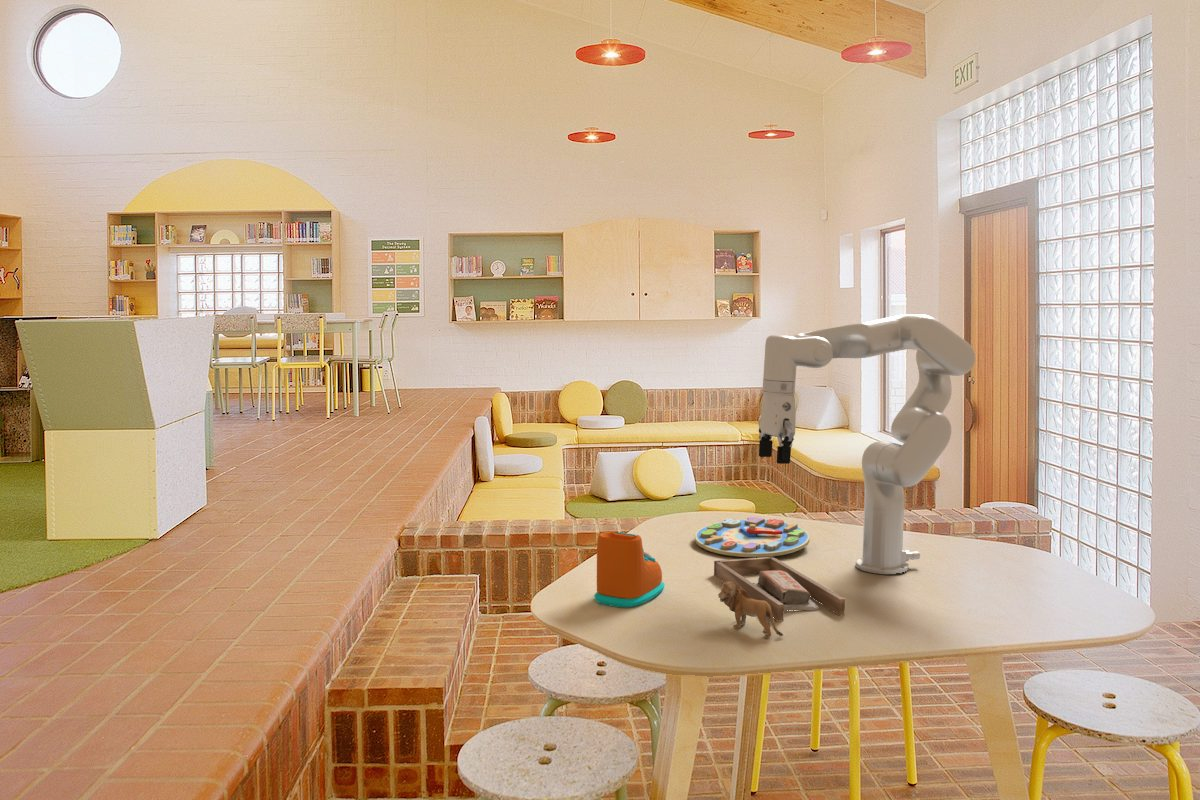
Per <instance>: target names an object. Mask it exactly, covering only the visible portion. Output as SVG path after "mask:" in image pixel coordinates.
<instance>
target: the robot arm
mask: <svg viewBox="0 0 1200 800" xmlns="http://www.w3.org/2000/svg"><path fill="white" fill-rule="evenodd" d="M764 346H765V347H764V361H763V362H764V363H763V374H762V376H763V377H762V392H761V394H763V396H762V402H761V409H760V419H758V423H757V424H758V433H759V436H758V439H759V445H758V457H761V458H771V457H772V455H773V444H774V443H773V441H774V440H773V439H772V438H773V437H774V438H776V439H777V442H778V445H777V450H776V451H777V452H776V464H780V465H781V464H782V465H783V464H784V465H787V464H790V463H791V452H792V447H793V442H794V440H795V439H794V437H795V435H796V418H797V417H796V397H795V395H796V378H797V367H803V368H808V369H821V368H823V367H826V366H827V365H829V363H831V361H832V359H865V358H871V357H876V356H879V355H884V354H889V353H895V352H899V351H904V350H913V351H914V350H915V351H916V354H915V360H916V365H917V370H918V382H917V384H916V385H917V386H916V388H915V389H914V391H913V392H912V394H911V395H910V396H909V398H908V399H907V401H906V402H905V403H904V405H902V407H901V409H900V410H899V412H898V413H897V414H896V415H895V417H894V419H893V421H892V423H891V426H890V427H891V428H890V431H891V435H892V437H894V439H895V440H897V441H898V442H900V443H902V444H899V443H895V442H891V441H885V440H879V441H875V442H873V443H870V444H869V445H868V446H867V447H866V448H865V449H864V451H863V453H862V458H861V468H862V469H861V470H862V476H863V484H864V486H863V487H864V501H863V502H864V504H863V505H864V506H863V507H864V508H863V529H862V531H863V532H862V533H863V536H862V557H861V558H858V559H857V560H856V561H855V566H856V568H857V569H859V570H861V571H863V570H864V572H866V571H867V573H872V574H877V573H878V574H879V575H897V574H896V573H900V574H903V573H902V572H904V573H906V572H908V571H909V563H908V562H909V561H910V560H912V561H913V560H914V561H915V560H919V559H920V558H921V554H920V552H919V551H909V550H904V526H905V525H904V519H905V504H906V503H905V491H904V487H905V488H909V487H914V486H916V485H917V484H919V483H920V482H921V481H922V480H923V479H924V478H925V477H926V476H927V474H928V473H929V471H930V470H931V469H932V468H933V466H934V465H935V463H936V462H937V461H938V459H939V458H940V456H941V455H942V454H943V452H944V451H945V450H946V448H947V446H948V445H949V443H950V440H951V436H952V424H951V421H950V419H949V418H948V417H947V416H946V415H945V414H944V411H945V410H946V408H947V406H948V404H949V403H950V401H951V398H952V393H953V392H952V391H953V390H952V380H951V379H952V378H951V377H952V376H953V377H959V376H964V375H966V374H967V373H969V372H970V371H971V370H972V369H973V368H974V367H975V366H974V365H975V362H976V353H975V350H974V349H973V347H972V345H971V344H970V343H969V342H968V341H967V340H965V339H964V338H962V337H961V336H960V335H959V334H957V333H956V332H954V331H953V330H952V329H950V328H949V327H947V326H946V324H944V323H942V322H941V321H939V320H938V319H937V318H935V317H932V316H930V315H928V314H916V313H915V314H913V313H905V314H897V315H894V316H893V315H892V316H887V317H884V318H878V319H874V320H869V321H863V322H859V323H852V324H846V325H841V326H836V327H829V328H822V329H818V330H817V329H816V330H812V331H807V332H803V333H798V334H794V335H793V336H791V335H783V334H782V335H781V334H780V335H779V334H773V335H768V337H766V339H765V344H764ZM907 570H908V571H907ZM905 571H906V572H905Z"/></svg>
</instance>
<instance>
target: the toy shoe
mask: <svg viewBox="0 0 1200 800" xmlns="http://www.w3.org/2000/svg"><path fill="white" fill-rule="evenodd" d="M661 568H662V567H661V565H660V563H659V562H658V561H656V558H655V557H654V556H653V557H652V555H651V554H650V553H648V552H646V551H644V547H643V540H642V537H641V535H639V534H633V533H627V532H626V533H625V532H618V531H617V532H614V531H604V532H601V533H599V534H598V538H597V546H596V592H595V594H594V596H593V597H594V599H595V601H596V602H597V603H598V602H599V604H600V603H601V605H604V604H605V606H609V605H611V606H610V607H615V606H617V607H616V608H622V607H628V608H634V607H637V606H641V605H643V604H644V603H647V602H649V601H651V600H652V599H654V598H655V597H656V596H658V595H659V594H660V593H661V592H662V591H663V590H664V589H665V583H664V582H663V572H662V569H661ZM650 599H651V600H650ZM642 603H643V604H642ZM633 606H634V607H633Z"/></svg>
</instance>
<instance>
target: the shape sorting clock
mask: <svg viewBox="0 0 1200 800" xmlns="http://www.w3.org/2000/svg"><path fill="white" fill-rule="evenodd" d="M798 525H799V524H797V523H788V522H785V520H783V519H778V518H772V519H771V518H769V519H765V518H764V517H759V516H748V517H747V518H746V519H736V518H726V519H724V520H723V521H719V522H718V521H717V522H715V523H710V524H707V525H705V526H703V527H701V528H698V530H697V531H695V534H694V541H695V544H696V545H697V546H699V547H700V548H702V549H704V550H706V551H708V552H711V553H715V554H719V555H724V556H730V557H739V558H740V557H742V558H756V557H757V558H761V557H773V556H774V557H778V556H784V555H788V554H793V553H795V552H798V551H800V550H802V549H804V548H806V547H807V546H808V545H809V544H810V542H811V541H810V540H811V539H810V538H811V536H810V534H809V532H808V531H807V530H805V529H804V528H802V527H800V526H798Z"/></svg>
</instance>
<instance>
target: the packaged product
mask: <svg viewBox="0 0 1200 800" xmlns="http://www.w3.org/2000/svg"><path fill="white" fill-rule="evenodd" d="M757 580H758V581H757V582H756V583H755V582H752V583H753V584H754V585H756V586H757V587H759V588H760V589H762V590H763V591H765V592H766V593H768V594H769V595H771V596H772V597H774V598H775V599H777V600H778V601H780V602H781V603H783V604H784V611H785V612H790V611H789V610H793V611H792V612H795V611H794V610H806V611H818V610H819V605H817V604H816V602H814V601H813V600H811V599H810V598H811V597H810V596H811V595H810V593H809V592H808V591H807V590H806V589H805V588H803V587H802V586H801V585H800V584H799V583H798V582H797V581H795V580H794V579H793V578H792V577H791V576H790V575H789V574H788V573H787V572H784V571H781V570H774V571H761V572H760V573H758V579H757ZM817 609H818V610H817ZM787 610H788V611H787Z"/></svg>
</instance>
